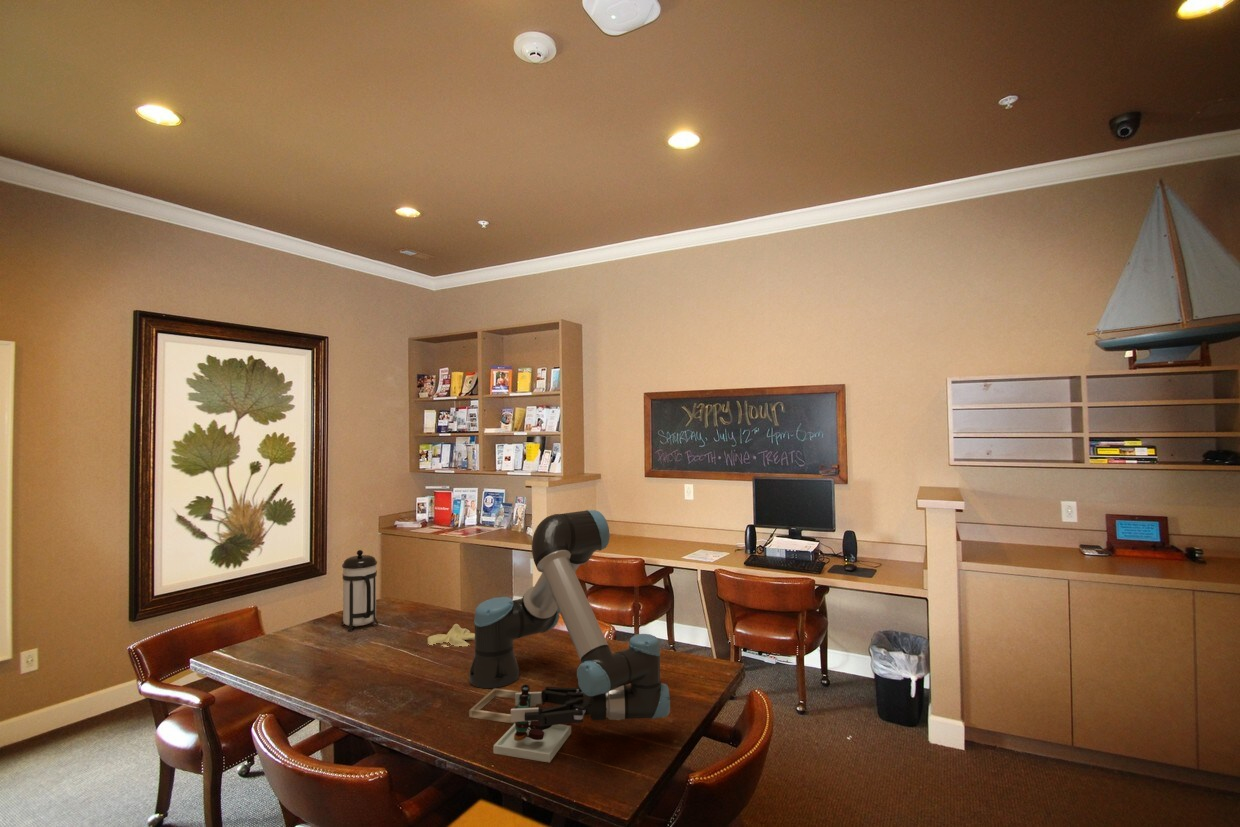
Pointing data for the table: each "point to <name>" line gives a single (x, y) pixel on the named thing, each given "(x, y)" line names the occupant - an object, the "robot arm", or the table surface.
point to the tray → (533, 744)
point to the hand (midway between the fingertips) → (513, 706)
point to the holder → (501, 717)
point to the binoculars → (522, 726)
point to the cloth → (453, 637)
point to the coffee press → (359, 590)
